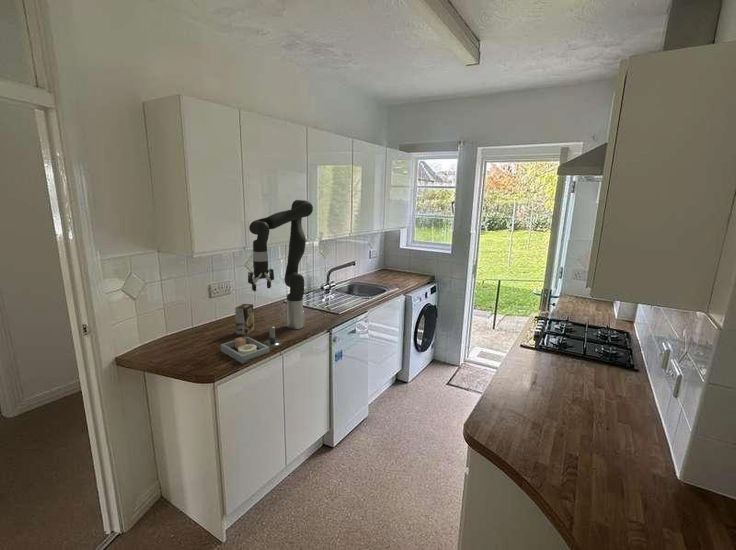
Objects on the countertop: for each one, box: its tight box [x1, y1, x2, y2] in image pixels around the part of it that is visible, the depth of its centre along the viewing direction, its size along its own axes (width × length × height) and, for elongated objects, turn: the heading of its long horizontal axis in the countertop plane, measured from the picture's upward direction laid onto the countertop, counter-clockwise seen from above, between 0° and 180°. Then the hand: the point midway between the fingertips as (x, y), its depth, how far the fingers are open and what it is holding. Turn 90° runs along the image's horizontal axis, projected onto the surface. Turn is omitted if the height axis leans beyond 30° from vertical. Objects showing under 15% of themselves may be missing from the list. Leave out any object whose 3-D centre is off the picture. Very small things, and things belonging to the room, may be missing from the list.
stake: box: [262, 325, 283, 348], centre depth 189 cm, size 10×10×10 cm
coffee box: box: [234, 303, 255, 336], centre depth 203 cm, size 9×6×16 cm
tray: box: [220, 336, 271, 365], centre depth 179 cm, size 15×20×4 cm
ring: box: [234, 336, 258, 355], centre depth 179 cm, size 9×13×5 cm, turn 49°
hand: (261, 289), depth 191 cm, fingers open, 8 cm apart
